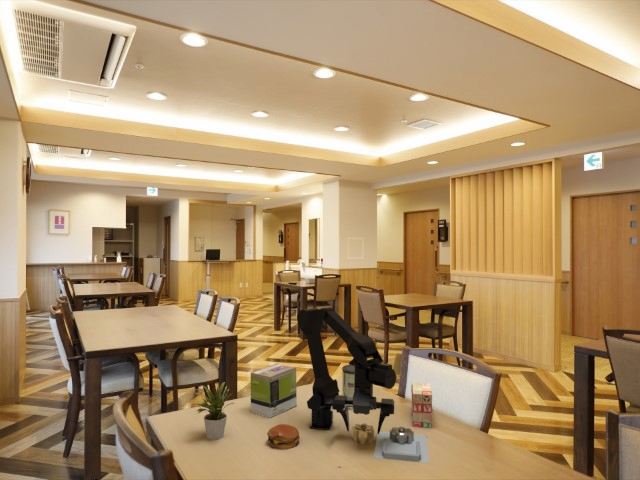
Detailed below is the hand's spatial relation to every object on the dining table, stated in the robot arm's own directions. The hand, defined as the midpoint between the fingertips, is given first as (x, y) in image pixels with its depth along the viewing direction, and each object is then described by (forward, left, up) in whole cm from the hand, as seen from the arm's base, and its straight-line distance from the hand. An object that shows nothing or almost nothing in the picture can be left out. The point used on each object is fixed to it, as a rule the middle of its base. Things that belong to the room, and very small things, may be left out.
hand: (363, 432), depth 134 cm
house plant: (-47, -4, -3) cm, 47 cm away
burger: (-24, -5, -4) cm, 25 cm away
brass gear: (0, 0, -3) cm, 3 cm away
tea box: (-35, +21, -3) cm, 41 cm away
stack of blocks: (+18, +23, -3) cm, 30 cm away
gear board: (+12, -3, -3) cm, 12 cm away
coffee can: (-6, +32, -3) cm, 33 cm away
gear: (+12, +2, -2) cm, 12 cm away
